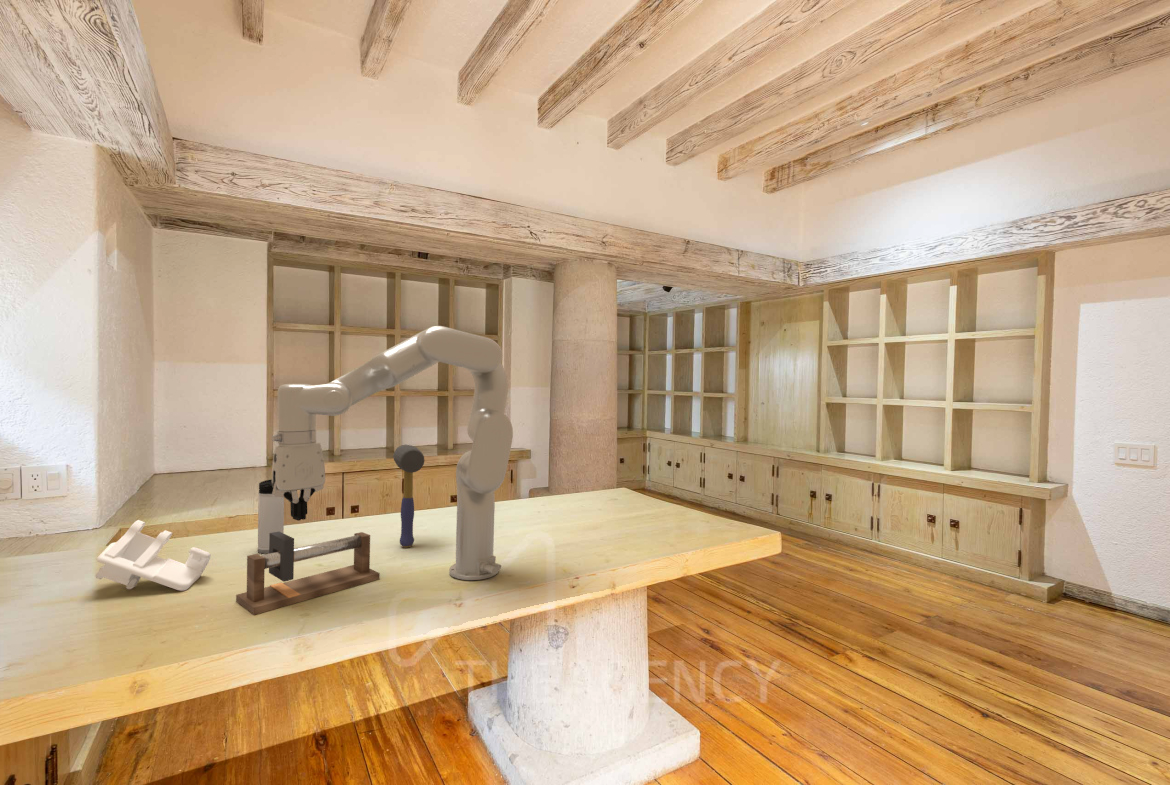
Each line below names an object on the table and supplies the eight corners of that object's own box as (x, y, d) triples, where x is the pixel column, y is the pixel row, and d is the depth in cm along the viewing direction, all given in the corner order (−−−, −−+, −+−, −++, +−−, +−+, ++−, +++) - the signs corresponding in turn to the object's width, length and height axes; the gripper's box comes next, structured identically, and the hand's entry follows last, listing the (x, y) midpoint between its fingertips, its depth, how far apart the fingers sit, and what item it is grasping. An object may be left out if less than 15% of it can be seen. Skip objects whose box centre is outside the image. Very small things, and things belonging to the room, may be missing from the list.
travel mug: (288, 547, 155) (290, 478, 155) (273, 554, 149) (274, 482, 148) (268, 546, 156) (269, 477, 156) (252, 553, 149) (253, 481, 149)
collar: (278, 570, 123) (279, 531, 123) (293, 579, 118) (294, 538, 118) (268, 572, 121) (269, 533, 121) (283, 581, 116) (284, 540, 116)
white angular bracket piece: (189, 595, 132) (218, 546, 134) (170, 614, 121) (202, 561, 123) (100, 564, 126) (132, 513, 128) (72, 581, 115) (107, 526, 117)
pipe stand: (358, 569, 139) (359, 528, 139) (379, 579, 133) (380, 536, 133) (236, 601, 117) (236, 553, 117) (253, 614, 111) (254, 563, 111)
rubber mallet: (424, 551, 155) (426, 447, 155) (397, 554, 152) (399, 448, 151) (415, 539, 166) (417, 442, 166) (389, 542, 163) (392, 443, 162)
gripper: (268, 443, 113) (270, 529, 114) (338, 436, 125) (339, 515, 125) (254, 440, 118) (256, 523, 119) (323, 434, 130) (324, 510, 130)
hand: (299, 518), depth 122 cm, fingers closed
